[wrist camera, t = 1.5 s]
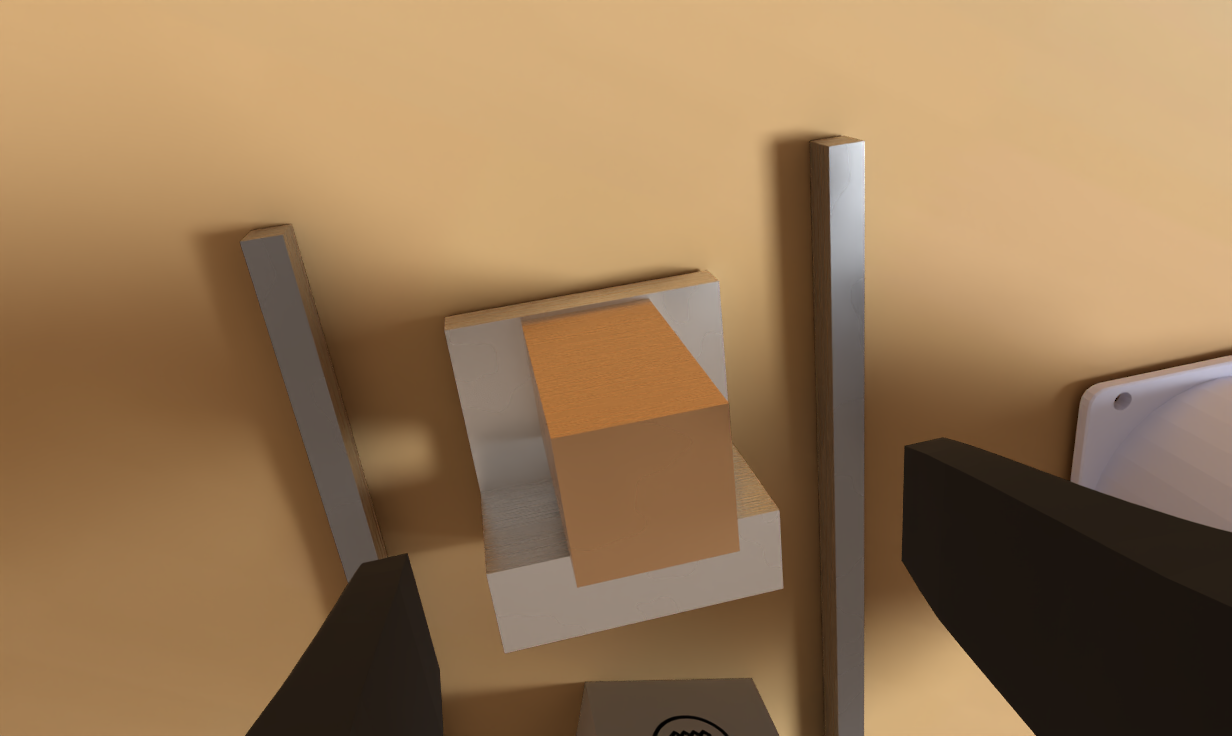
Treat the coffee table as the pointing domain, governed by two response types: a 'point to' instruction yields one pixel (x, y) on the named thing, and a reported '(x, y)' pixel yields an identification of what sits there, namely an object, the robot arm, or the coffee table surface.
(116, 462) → the coffee table surface
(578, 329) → the l-shaped block holder
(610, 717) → the grey marked cube
